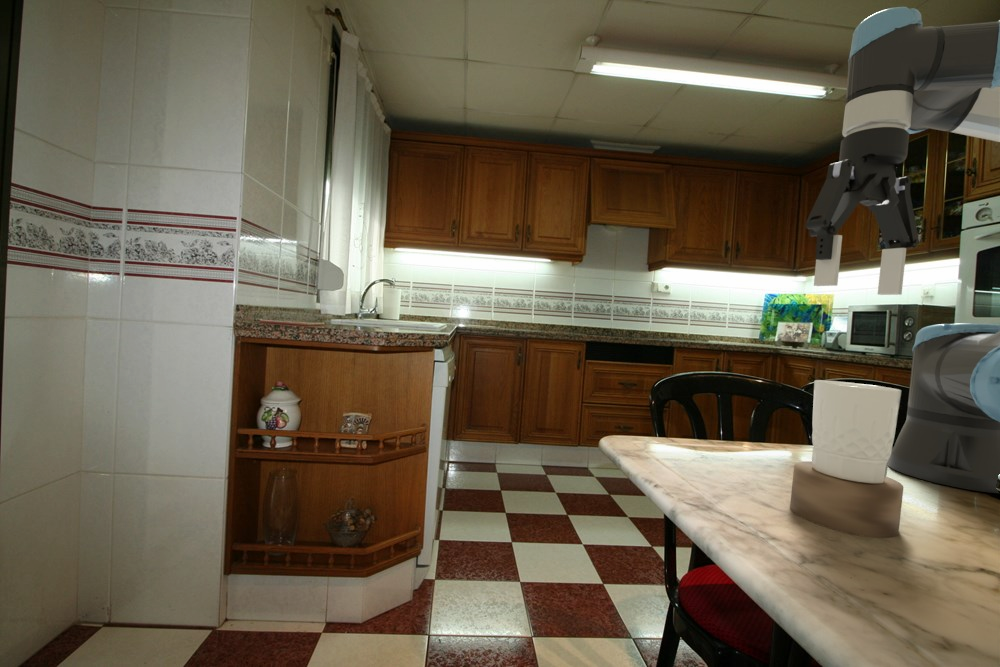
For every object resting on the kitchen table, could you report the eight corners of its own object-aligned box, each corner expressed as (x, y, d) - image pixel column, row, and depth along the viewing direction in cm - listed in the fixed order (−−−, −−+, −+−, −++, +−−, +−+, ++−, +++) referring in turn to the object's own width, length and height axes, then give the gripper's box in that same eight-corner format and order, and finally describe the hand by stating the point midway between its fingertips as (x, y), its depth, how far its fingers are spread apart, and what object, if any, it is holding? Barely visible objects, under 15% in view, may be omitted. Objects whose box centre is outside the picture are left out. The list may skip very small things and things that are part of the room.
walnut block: (850, 504, 61) (854, 464, 61) (924, 541, 51) (929, 493, 51) (771, 500, 61) (775, 459, 61) (830, 536, 51) (835, 488, 51)
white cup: (863, 468, 59) (872, 384, 59) (910, 490, 52) (920, 393, 51) (793, 461, 60) (801, 377, 60) (828, 481, 52) (838, 385, 52)
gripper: (900, 159, 77) (885, 297, 78) (785, 123, 67) (769, 282, 68) (960, 145, 70) (943, 297, 71) (841, 103, 61) (823, 280, 61)
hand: (858, 290), depth 70 cm, fingers open, 13 cm apart
